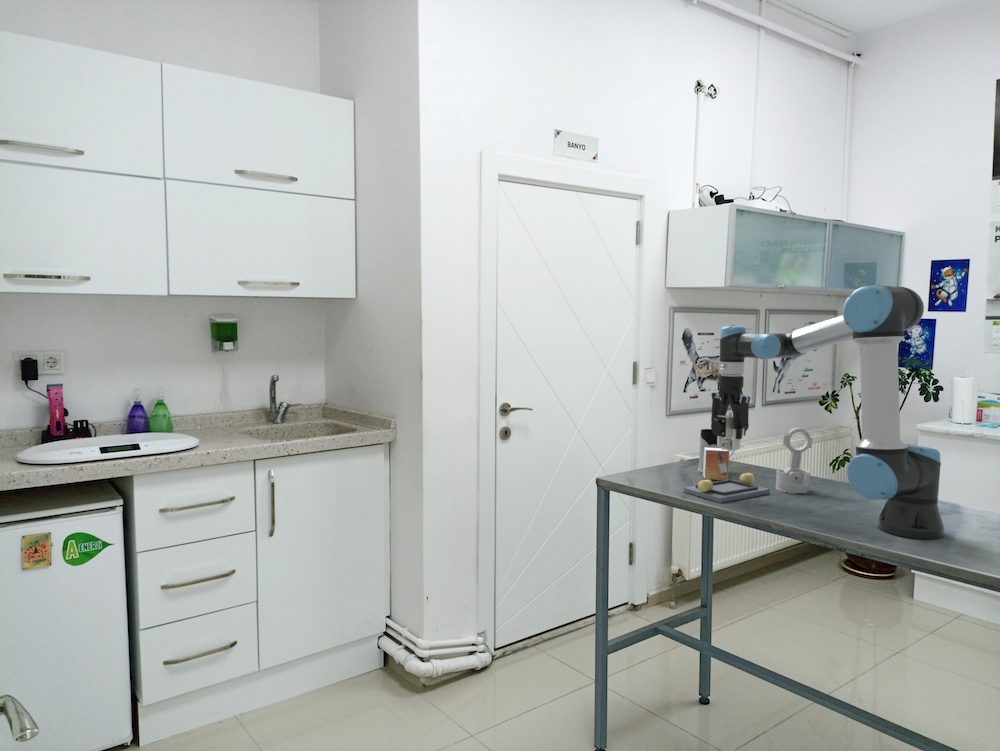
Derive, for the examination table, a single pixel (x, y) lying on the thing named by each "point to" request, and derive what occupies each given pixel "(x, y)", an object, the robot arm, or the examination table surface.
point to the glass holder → (707, 445)
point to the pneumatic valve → (725, 430)
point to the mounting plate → (727, 489)
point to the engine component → (794, 466)
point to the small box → (715, 464)
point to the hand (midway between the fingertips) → (728, 447)
